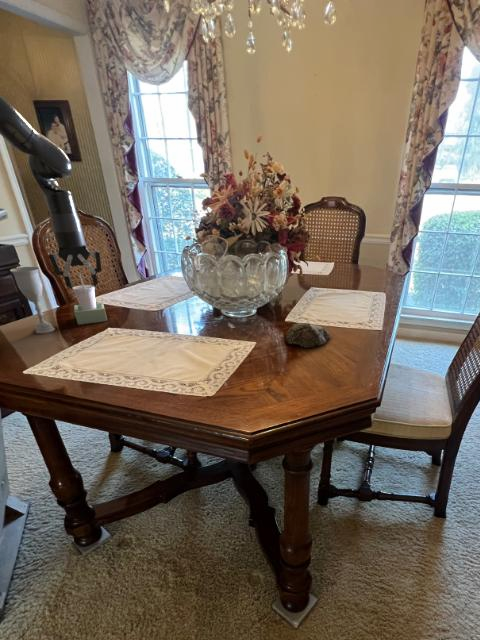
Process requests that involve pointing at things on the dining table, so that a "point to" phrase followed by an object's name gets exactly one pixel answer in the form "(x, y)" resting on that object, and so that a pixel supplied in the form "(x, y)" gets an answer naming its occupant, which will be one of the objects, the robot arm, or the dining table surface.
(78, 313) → the holder
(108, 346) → the dining table surface
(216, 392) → the dining table surface
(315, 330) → the dark rough stone
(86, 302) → the smoothie
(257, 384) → the dining table surface
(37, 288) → the chalice
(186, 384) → the dining table surface
